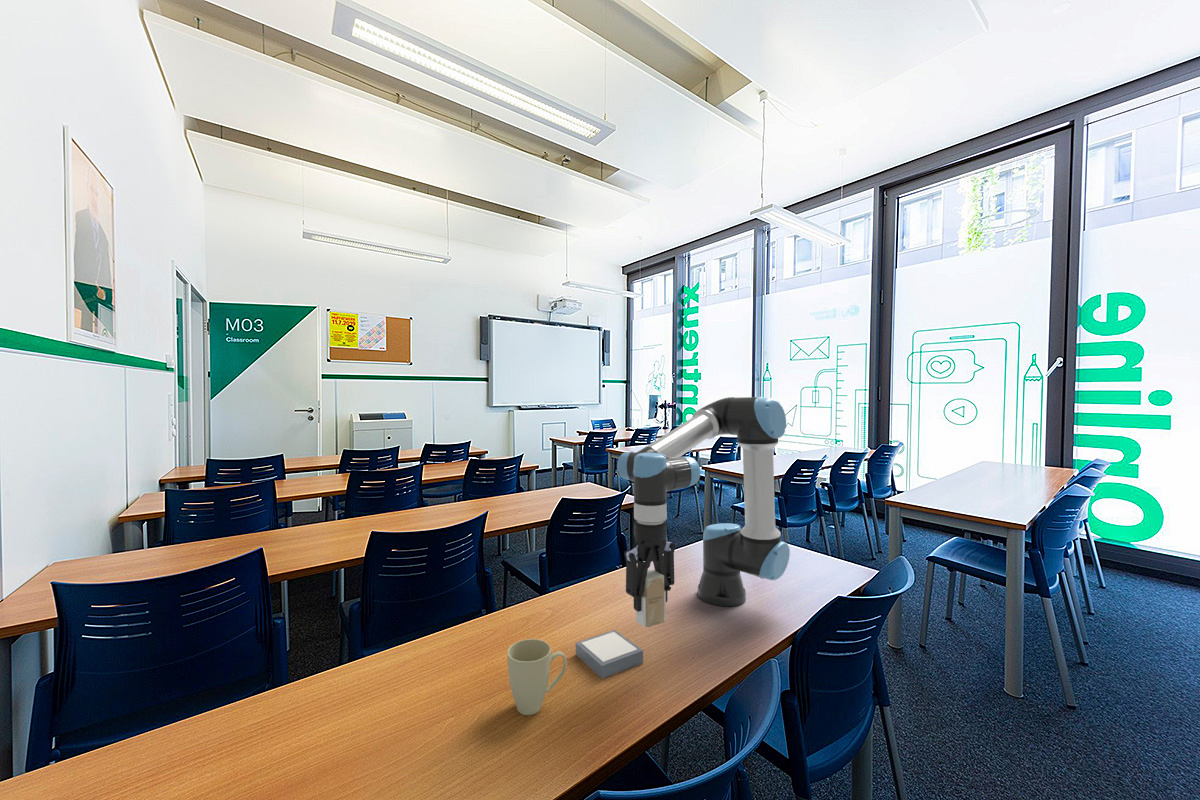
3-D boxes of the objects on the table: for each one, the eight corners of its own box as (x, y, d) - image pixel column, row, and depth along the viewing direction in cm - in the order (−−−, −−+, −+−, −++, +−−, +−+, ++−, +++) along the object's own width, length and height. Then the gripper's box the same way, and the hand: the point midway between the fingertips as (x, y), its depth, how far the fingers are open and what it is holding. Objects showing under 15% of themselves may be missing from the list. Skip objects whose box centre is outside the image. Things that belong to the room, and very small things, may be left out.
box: (647, 628, 105) (645, 579, 105) (636, 620, 109) (635, 573, 109) (665, 622, 108) (664, 574, 108) (655, 614, 112) (653, 568, 111)
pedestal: (614, 641, 124) (614, 629, 124) (643, 662, 114) (643, 649, 113) (575, 654, 117) (575, 642, 117) (601, 678, 107) (601, 665, 107)
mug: (535, 730, 90) (535, 668, 90) (498, 711, 96) (498, 653, 96) (568, 699, 100) (568, 643, 100) (532, 684, 105) (532, 631, 105)
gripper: (669, 511, 116) (669, 603, 117) (608, 523, 106) (609, 624, 107) (690, 517, 110) (691, 615, 110) (628, 531, 100) (629, 638, 100)
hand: (651, 619), depth 108 cm, fingers closed on box, 5 cm apart
